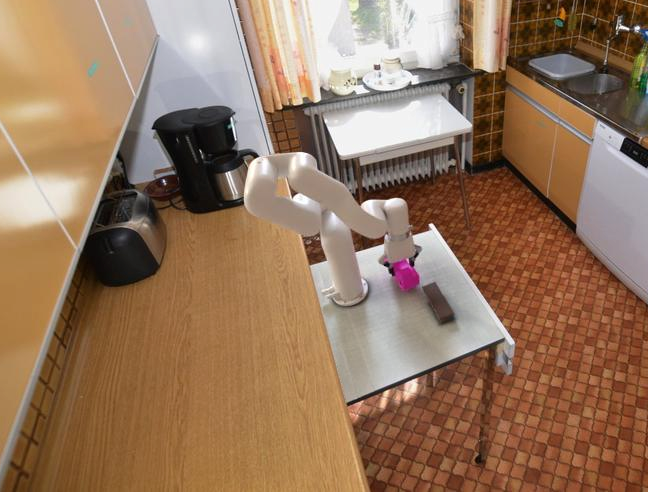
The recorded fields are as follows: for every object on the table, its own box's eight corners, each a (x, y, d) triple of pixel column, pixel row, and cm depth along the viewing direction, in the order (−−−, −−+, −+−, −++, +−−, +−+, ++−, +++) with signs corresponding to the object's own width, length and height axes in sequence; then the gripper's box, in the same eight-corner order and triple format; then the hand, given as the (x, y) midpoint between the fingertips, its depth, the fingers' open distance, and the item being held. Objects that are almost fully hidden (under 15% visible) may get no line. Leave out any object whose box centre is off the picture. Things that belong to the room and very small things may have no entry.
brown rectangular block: (422, 291, 153) (422, 286, 151) (435, 286, 154) (435, 281, 153) (440, 324, 141) (439, 318, 139) (454, 318, 142) (454, 313, 141)
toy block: (419, 284, 152) (418, 268, 148) (403, 291, 150) (402, 275, 146) (400, 258, 164) (399, 242, 160) (385, 264, 161) (383, 249, 157)
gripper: (418, 218, 152) (420, 256, 162) (370, 233, 147) (375, 271, 156) (426, 231, 146) (428, 270, 156) (376, 247, 141) (381, 286, 150)
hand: (401, 270), depth 156 cm, fingers closed on toy block, 6 cm apart
